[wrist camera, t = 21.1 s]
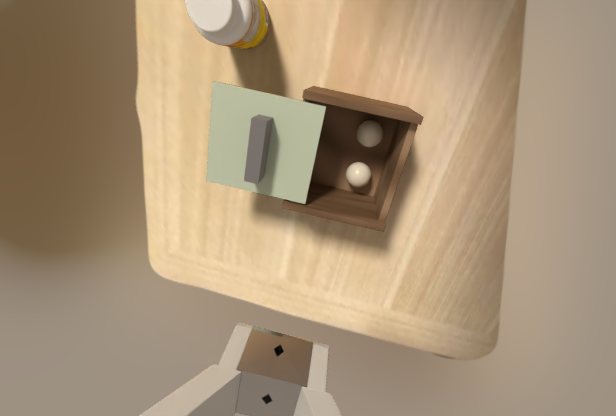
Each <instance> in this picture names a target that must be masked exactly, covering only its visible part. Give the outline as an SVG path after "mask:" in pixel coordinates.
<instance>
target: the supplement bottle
mask: <svg viewBox="0 0 616 416" xmlns="http://www.w3.org/2000/svg"><path fill="white" fill-rule="evenodd" d="M185 3H186V9H187V12H188V15H189V17H190V19H191V20H192V21H193V23H194V25H195V27H196V28H197V30H198V31H199V33H200V34H201V35H202V36H203V37H204V38H206V39H207V40H209V41H210V42H212V43H215V44H218V45H223V46H229V47H234V48H239V49H253V48H255V47H257V46H259V45H260V44H261V43H262V42H263V41H264V40H265V38H266V36H267V34H268V31H269V26H270V18H269V13H268V10H267V7H266V5H265V4H264V2H263V1H262V0H185Z"/></svg>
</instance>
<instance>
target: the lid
mask: <svg viewBox="0 0 616 416" xmlns="http://www.w3.org/2000/svg"><path fill="white" fill-rule="evenodd" d="M325 111H326V106H323V105H319V104H314V103H310V102H306V101H301V100H297V99H292V98H288V97H283V96H279V95H274V94H270V93H266V92H261V91H257V90H252V89H248V88H243V87H239V86H234V85H230V84H226V83H221V82H217V81H213V84H212V100H211V115H210V131H209V146H208V162H207V177H206V181H209V182H213V183H218V184H222V185H226V186H230V187H235V188H239V189H243V190H247V191H252V192H256V193H260V194H264V195H269V196H273V197H277V198H281V199H286V200H290V201H294V202H298V203H303V204H305V203H306V199H307V194H308V189H309V185H310V180H311V176H312V171H313V166H314V162H315V157H316V152H317V148H318V143H319V138H320V134H321V129H322V125H323V120H324V115H325Z"/></svg>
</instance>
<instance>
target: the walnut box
mask: <svg viewBox="0 0 616 416" xmlns="http://www.w3.org/2000/svg"><path fill="white" fill-rule="evenodd" d="M303 98H304V99H303V101H306V102H310V103H314V104H319V105H323V106H326V111H325V115H324V120H323V125H322V129H321V134H320V138H319V143H318V148H317V152H316V157H315V162H314V166H313V171H312V176H311V180H310V185H309V189H308V194H307V199H306V203H305V204H303V203H298V202H294V201H290V200H286V199H285V200H284V202H283V207H282V208H285V209H289V210H293V211H298V212H302V213H306V214H310V215H315V216H319V217H323V218H327V219H331V220H336V221H340V222H344V223H348V224H353V225H357V226H361V227H365V228H370V229H374V230H378V231H382V232H384V229H385V219H386V216H387V213H388V211H389V208H390V205H391V202H392V199H393V196H394V193H395V190H396V187H397V184H398V182H399V179H400V176H401V173H402V170H403V167H404V164H405V161H406V158H407V155H408V152H409V150H410V147H411V144H412V141H413V138H414V135H415V132H416V129H417V126H418V124H420V125H421V123H422V120H423V116H421V115H420V114H418V113H416V112H415V111H413V110H412V109H410V108H408V107H405V106H401V105H397V104H392V103H388V102H383V101H379V100H374V99H370V98H365V97H361V96H356V95H352V94H347V93H343V92H338V91H334V90H329V89H325V88H320V87H316V86H313V87H310V88H308V89H305V90H304V92H303ZM367 120H375V121H377V122H378V123H380V124H381V126H382V128H383V132H384V134H383V138H382V140H381V142H380V143H379V144H377V145H376V146H373V147H366V146H363V145H362V144H360V142H359V141H358V139H357V129H358V127H359V126H360V124H361V123H363V122H364V121H367ZM356 162H362V163H364V164H366V165H367V166H368V167H369V169H370V171H371V178H370V180H369V182H368V183H367V184H366V185H365V186H362V187H354V186H352V185H350V184H349V183H348V181H347V179H346V171H347V169H348V167H349V166H350V165H351V164H353V163H356Z"/></svg>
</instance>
